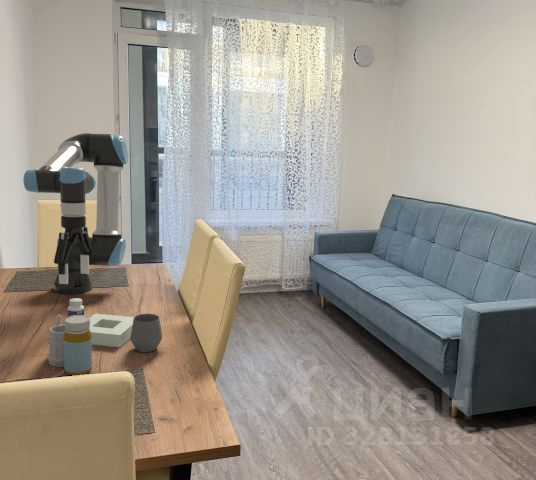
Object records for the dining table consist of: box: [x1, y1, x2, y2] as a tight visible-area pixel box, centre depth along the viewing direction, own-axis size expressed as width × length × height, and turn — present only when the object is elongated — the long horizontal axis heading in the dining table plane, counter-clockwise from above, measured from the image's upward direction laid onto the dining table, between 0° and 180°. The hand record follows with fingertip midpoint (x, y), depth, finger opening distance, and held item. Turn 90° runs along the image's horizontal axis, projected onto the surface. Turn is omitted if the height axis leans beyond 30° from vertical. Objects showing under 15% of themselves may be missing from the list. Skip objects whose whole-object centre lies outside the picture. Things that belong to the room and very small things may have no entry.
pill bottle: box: [66, 297, 85, 317], centre depth 169 cm, size 5×5×9 cm
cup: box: [129, 313, 163, 353], centre depth 152 cm, size 10×9×10 cm
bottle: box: [63, 314, 93, 376], centre depth 135 cm, size 7×7×15 cm
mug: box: [47, 313, 65, 368], centre depth 142 cm, size 8×12×12 cm, turn 29°
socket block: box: [89, 313, 135, 348], centre depth 162 cm, size 16×16×4 cm
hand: (74, 278), depth 166 cm, fingers open, 13 cm apart
